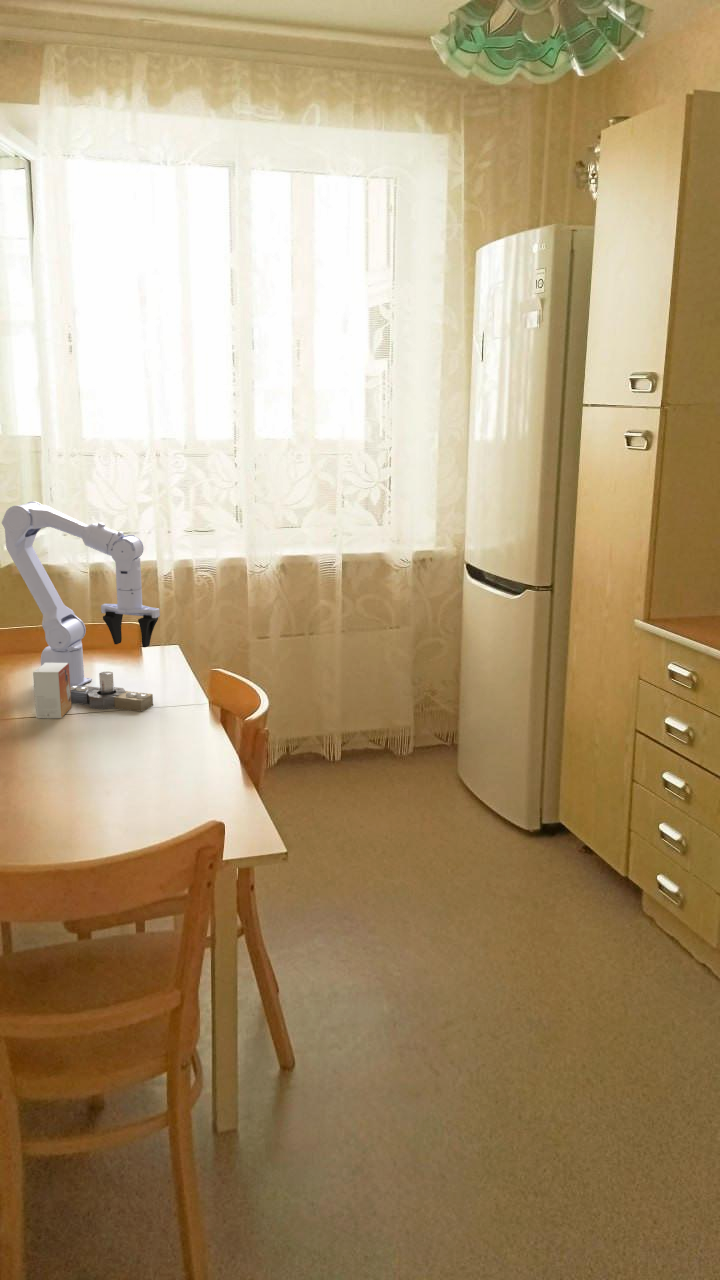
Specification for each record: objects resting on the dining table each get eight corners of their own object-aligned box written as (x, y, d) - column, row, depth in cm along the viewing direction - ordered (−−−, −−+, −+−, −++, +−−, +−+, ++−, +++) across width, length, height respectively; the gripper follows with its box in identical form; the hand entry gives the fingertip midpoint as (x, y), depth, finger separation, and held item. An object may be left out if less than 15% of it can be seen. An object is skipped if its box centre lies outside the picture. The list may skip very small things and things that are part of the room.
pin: (98, 704, 230) (96, 674, 228) (106, 700, 233) (105, 670, 231) (108, 705, 229) (106, 676, 227) (117, 702, 231) (115, 672, 229)
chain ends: (57, 703, 230) (56, 690, 229) (78, 693, 237) (77, 681, 237) (137, 713, 223) (137, 700, 223) (156, 703, 231) (156, 690, 230)
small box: (61, 719, 219) (58, 672, 217) (35, 718, 220) (32, 671, 217) (72, 707, 227) (69, 662, 225) (47, 707, 227) (44, 661, 225)
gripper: (92, 589, 235) (95, 646, 239) (147, 593, 231) (150, 651, 234) (109, 583, 242) (112, 639, 245) (163, 588, 237) (165, 644, 241)
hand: (131, 644), depth 240 cm, fingers open, 7 cm apart
